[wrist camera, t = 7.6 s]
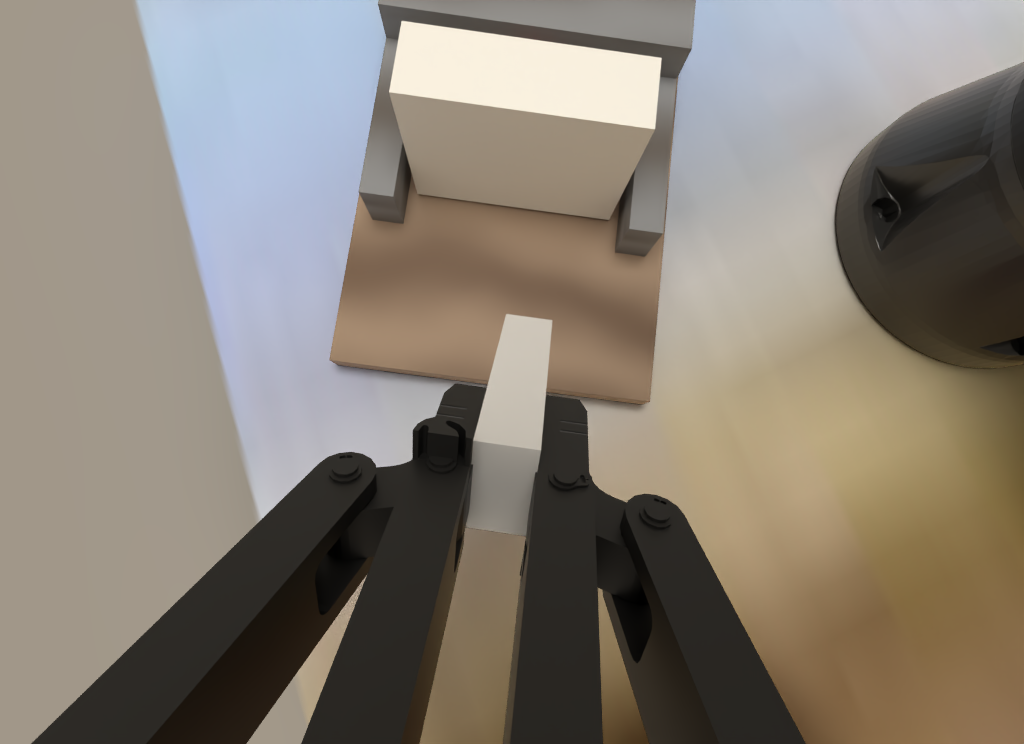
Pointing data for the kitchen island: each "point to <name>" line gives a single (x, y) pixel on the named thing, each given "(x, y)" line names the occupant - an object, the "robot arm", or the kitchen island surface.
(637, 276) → the housing
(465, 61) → the cream rectangular block
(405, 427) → the kitchen island surface
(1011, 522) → the kitchen island surface
